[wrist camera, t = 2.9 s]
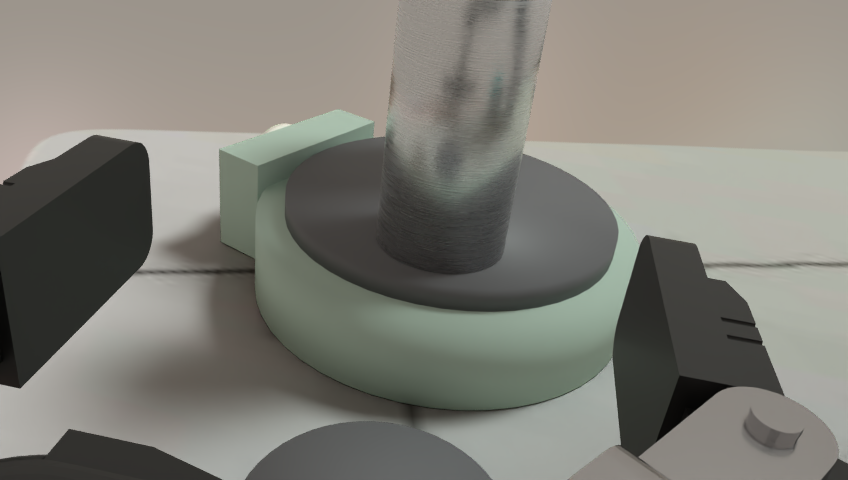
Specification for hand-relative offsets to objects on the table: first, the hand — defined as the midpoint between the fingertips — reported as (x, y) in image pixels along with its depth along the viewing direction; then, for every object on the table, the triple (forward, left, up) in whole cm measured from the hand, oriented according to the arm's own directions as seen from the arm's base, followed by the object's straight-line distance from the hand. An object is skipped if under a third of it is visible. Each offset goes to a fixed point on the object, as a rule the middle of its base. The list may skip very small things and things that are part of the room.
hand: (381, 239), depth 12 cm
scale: (+6, -13, -10) cm, 18 cm away
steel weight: (+5, -10, -6) cm, 13 cm away
